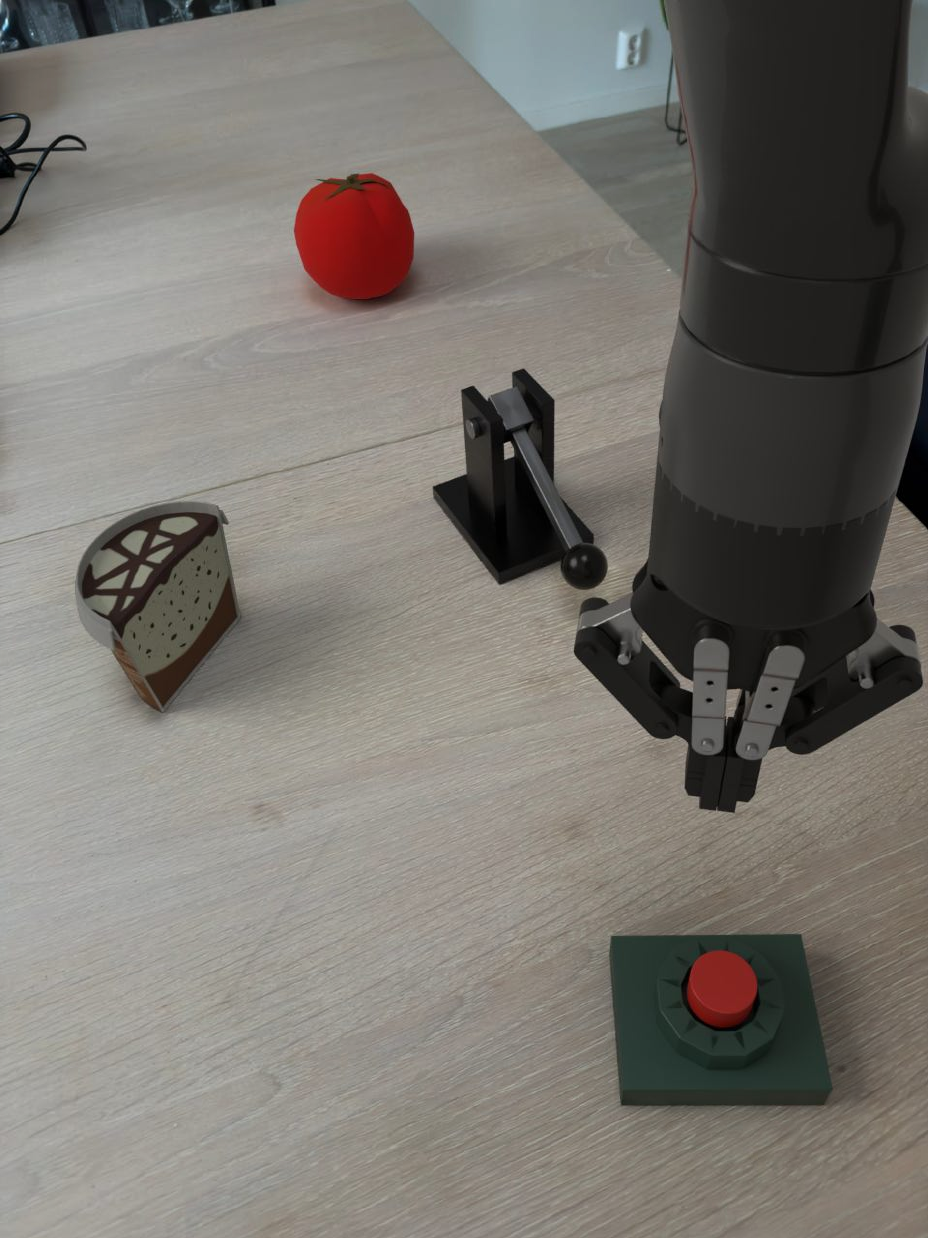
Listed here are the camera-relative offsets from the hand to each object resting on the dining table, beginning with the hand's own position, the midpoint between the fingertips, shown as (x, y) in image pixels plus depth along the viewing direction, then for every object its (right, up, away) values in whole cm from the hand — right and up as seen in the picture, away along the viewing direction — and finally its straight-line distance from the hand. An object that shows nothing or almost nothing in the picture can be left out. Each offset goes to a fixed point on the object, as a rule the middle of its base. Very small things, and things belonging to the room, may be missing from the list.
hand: (717, 794), depth 46 cm
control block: (+2, -14, +11) cm, 18 cm away
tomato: (-21, +40, +62) cm, 77 cm away
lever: (-5, +16, +30) cm, 35 cm away
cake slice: (-32, +5, +31) cm, 44 cm away
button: (+2, -11, +8) cm, 14 cm away
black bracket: (-7, +15, +37) cm, 41 cm away
